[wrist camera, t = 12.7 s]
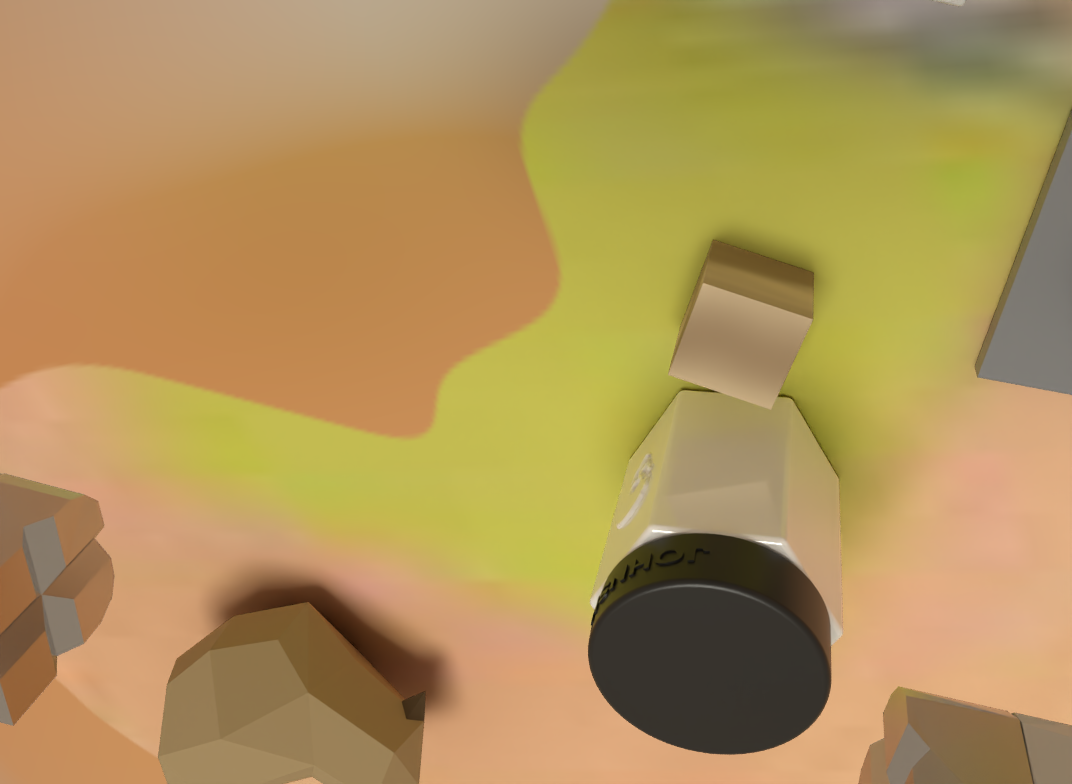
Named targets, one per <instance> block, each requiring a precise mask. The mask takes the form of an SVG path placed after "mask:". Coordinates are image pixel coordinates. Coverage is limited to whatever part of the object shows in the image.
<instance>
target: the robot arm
mask: <svg viewBox="0 0 1072 784" xmlns="http://www.w3.org/2000/svg"><path fill="white" fill-rule="evenodd" d="M103 527H104V522H103V518H102V514H101V510H100V506H99V502H98V501H97V500H95V499H93V498H91V497H89V496H86V495H84V494H80V493H76V492H72V491H69V490H65V489H61V488H57V487H54V486H50V485H46V484H42V483H38V482H35V481H31V480H27V479H23V478H20V477H16V476H12V475H8V474H5V473H4V474H1V473H0V722H1V723H5V724H9V725H15V723H16V722H17V721H18V720H19V718H21V716H22V715H23V714H24V713H25V712H26V711H27V709H28V708H29V707H30V706H31V705H32V704H33V703H34V701H35V700H36V699H37V698H38V697H39V695H40V694H41V693H42V692H43V691H44V690H45V688H46V687H47V686H48V685H49V684H50V683H51V682H52V680H53V679H54V678H55V677H56V676H57V656H58V655H60V654H62V653H65V652H67V651H69V650H71V649H73V648H75V647H78V646H80V645H82V644H84V643H85V642H86V640H87V639H88V638H89V637H90V636H91V634H92V633H93V632H94V631H95V629H96V628H97V627H98V626H99V625H100V623H101V622H102V619H103V617H104V615H105V612H106V610H107V608H108V605H109V603H110V601H111V598H112V595H113V584H114V571H113V566H112V560H111V557H110V556H109V555H108V554H107V552H106V551H105V550H104V549H103V548H102V546H101V545H100V544H99V543H98V542H97V541H96V539H95V537H96V536H97V535H98V533H99V532H100V531H101V530H102V528H103ZM883 722H884V738H883V739H881V740H879V741H877V742H875V743H873V744H871V745H870V747H869V749H868V752H867V755H866V758H865V760H864V763H863V766H862V769H861V773H860V778H859V783H858V784H1072V726H1071V725H1067V724H1063V723H1058V722H1054V721H1049V720H1045V719H1041V718H1036V717H1032V716H1027V715H1023V714H1018V713H1009V712H1008V711H1005V710H1001V709H996V708H992V707H987V706H983V705H978V704H974V703H970V702H965V701H961V700H956V699H952V698H948V697H943V696H939V695H934V694H930V693H925V692H921V691H917V690H912V689H908V688H903V687H899V686H898V687H897V689H896V690H895V691H894V692H893V693H892V694H891V696H890V698H889V701H888V703H887V705H886V708H885V710H884V712H883Z"/></svg>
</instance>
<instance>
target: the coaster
mask: <svg viewBox="0 0 1072 784" xmlns="http://www.w3.org/2000/svg"><path fill="white" fill-rule="evenodd" d="M975 370H976V374H977V377H979V378H984V379H990V380H995V381H1000V382H1006V383H1011V384H1016V385H1022V386H1027V387H1033V388H1038V389H1043V390H1049V391H1054V392H1059V393H1065V394H1070V395H1072V111H1071V113H1070V116H1069V118H1068V121H1067V124H1066V126H1065V129H1064V132H1063V134H1062V137H1061V140H1060V142H1059V145H1058V148H1057V150H1056V153H1055V156H1054V158H1053V161H1052V163H1051V166H1050V169H1049V171H1048V174H1047V177H1046V179H1045V182H1044V185H1043V187H1042V190H1041V193H1040V195H1039V198H1038V200H1037V203H1036V206H1035V208H1034V211H1033V214H1032V216H1031V219H1030V222H1029V224H1028V227H1027V230H1026V232H1025V235H1024V238H1023V240H1022V243H1021V245H1020V248H1019V251H1018V253H1017V256H1016V259H1015V261H1014V264H1013V267H1012V269H1011V272H1010V275H1009V277H1008V280H1007V283H1006V285H1005V288H1004V290H1003V293H1002V296H1001V298H1000V301H999V304H998V306H997V309H996V312H995V314H994V317H993V320H992V322H991V325H990V328H989V330H988V333H987V335H986V338H985V341H984V343H983V346H982V349H981V351H980V354H979V357H978V359H977V362H976V365H975Z"/></svg>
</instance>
